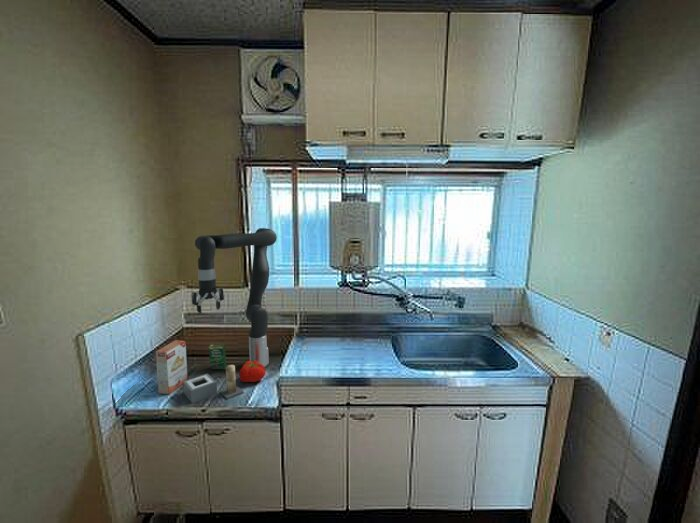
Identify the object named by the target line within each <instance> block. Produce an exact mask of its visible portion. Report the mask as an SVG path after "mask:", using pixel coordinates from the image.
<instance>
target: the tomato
mask: <svg viewBox="0 0 700 523" xmlns="http://www.w3.org/2000/svg"><path fill="white" fill-rule="evenodd" d="M241 366H242V367H241V368H240V370H239V372H238V377H239V379H240V380H241V382H243V383H250V382H251V383H255V382H259V381H260V380H263V379H264V378H265V376H266V368H265V367H264V366H263V365H262V364H261V363H259V362H258V361H252V362H251V361H250V360H247V361H246V362H245V363H244V364H243V365H241Z"/></svg>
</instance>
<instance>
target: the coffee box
mask: <svg viewBox="0 0 700 523" xmlns="http://www.w3.org/2000/svg"><path fill="white" fill-rule="evenodd" d="M225 346H226V344H210V345H209V346H208V354H209V366H210V370H226V366H227V358H226V357H227V356H226V347H225Z"/></svg>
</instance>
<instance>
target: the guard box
mask: <svg viewBox="0 0 700 523" xmlns="http://www.w3.org/2000/svg"><path fill="white" fill-rule="evenodd" d="M182 385H183V386H182V387H183V394H184V395H185V396H186V397H187V399H188V400H189V401H190V403H191V404H194V403H197V402H199V401H202V400H205V399H208V398H210V397H214V396H216V395H218V388H217V381H216V380H215V379H214V378H213V377H212V376H211V375H210V374H208V373H204V374H202V375H201V374H200V375H198V376H195V377H193V378H189V379H188V380H186V381H183V384H182Z"/></svg>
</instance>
